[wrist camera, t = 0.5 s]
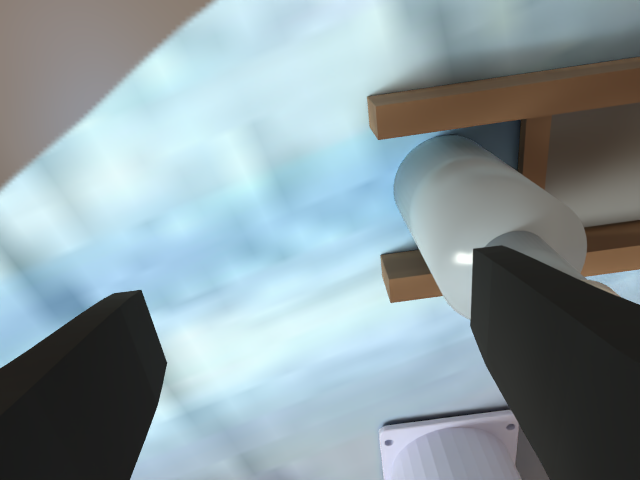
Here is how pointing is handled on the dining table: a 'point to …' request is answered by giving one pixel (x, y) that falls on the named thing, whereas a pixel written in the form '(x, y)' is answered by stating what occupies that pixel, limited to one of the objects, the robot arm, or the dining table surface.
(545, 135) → the cradle
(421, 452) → the robot arm
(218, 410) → the dining table surface
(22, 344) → the dining table surface
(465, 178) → the bottle
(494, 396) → the dining table surface
